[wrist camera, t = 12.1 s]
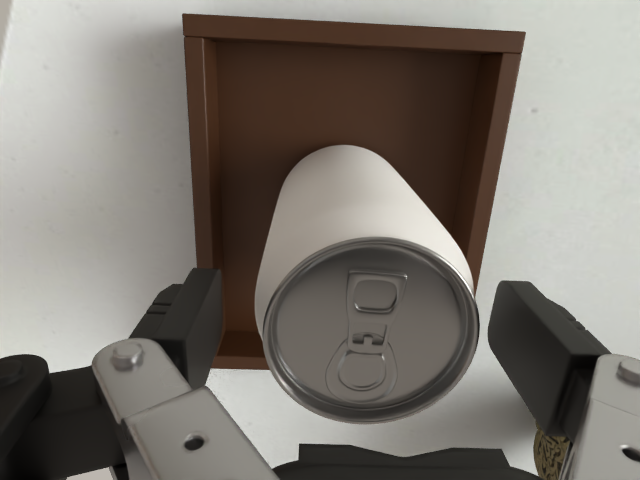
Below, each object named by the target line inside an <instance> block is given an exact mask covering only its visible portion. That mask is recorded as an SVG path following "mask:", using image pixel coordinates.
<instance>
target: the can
mask: <svg viewBox="0 0 640 480" xmlns="http://www.w3.org/2000/svg"><path fill="white" fill-rule="evenodd" d="M255 317H256V323H257V327H258V331H259V334H260V336H261V339H262V341H263V349H264V354H265V357H266V361H267V363H268V366H269V368H270V371H271V372H272V374H273V376H274V378H275V379H276V381H277V382H278V384H279V385H280V386H281V388H282V389H283V390H284V391H285V392H286V393H287V394H288V395H289V396H290V397H291V398H292V399H293V400H295V401H296V402H297V403H299V404H300V405H301V406H303V407H304V408H306V409H308V410H310V411H312V412H314V413H316V414H318V415H320V416H323V417H325V418H328V419H332V420H335V421H340V422H345V423H352V424H379V423H386V422H392V421H396V420H400V419H403V418H406V417H409V416H412V415H414V414H416V413H419V412H421V411H423V410H425V409H427V408H428V407H430V406H432V405H433V404H435V403H436V402H438V401H439V400H440V399H442V398H443V397H444V396H445V395H446V394H448V393H449V392H450V391H451V390H452V389H453V388H454V387H455V386H456V384H457V383H458V382H459V381H460V380H461V378H462V377H463V375H464V374H465V373H466V371H467V369H468V367H469V366H470V364H471V362H472V359H473V357H474V354H475V351H476V348H477V344H478V339H479V329H480V323H479V313H478V308H477V304H476V301H475V298H474V286H473V280H472V275H471V272H470V269H469V266H468V264H467V261H466V259H465V257H464V255H463V253H462V251H461V250H460V248H459V246H458V245H457V243H456V242H455V241H454V239H453V238H452V237H451V235H450V234H449V233H448V231H447V230H446V229H445V228H444V226H443V225H442V224H441V223H440V222H439V220H438V219H437V218H436V217H435V216H434V214H433V213H432V212H431V211H430V210H429V208H428V207H427V206H426V205H425V204H424V203H423V201H422V200H421V199H420V198H419V197H418V196H417V194H416V193H415V192H414V191H413V190H412V189H411V187H410V186H409V185H408V184H407V183H406V182H405V180H404V179H403V178H402V177H401V176H400V175H399V174H398V172H397V171H396V170H395V169H394V168H393V167H392V166H391V165H390V164H389V163H388V162H387V161H386V160H385V159H383V158H382V157H381V156H379V155H377V154H376V153H374V152H372V151H370V150H367V149H365V148H362V147H358V146H352V145H335V146H329V147H325V148H322V149H319V150H317V151H315V152H313V153H311V154H309V155H308V156H306V157H305V158H303V159H302V160H301V161H300V162H299V163H298V164H297V165H296V166H295V167H294V168H293V169H292V170H291V172H290V173H289V174H288V176H287V178H286V179H285V181H284V183H283V186H282V188H281V191H280V194H279V198H278V201H277V204H276V208H275V212H274V215H273V219H272V223H271V227H270V230H269V234H268V238H267V242H266V246H265V250H264V253H263V257H262V261H261V265H260V270H259V274H258V279H257V284H256V290H255Z"/></svg>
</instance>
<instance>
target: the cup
mask: <svg viewBox="0 0 640 480" xmlns="http://www.w3.org/2000/svg"><path fill="white" fill-rule="evenodd" d="M535 421H536V420H535ZM536 427H537V429H538V430H537V433H536V435H535V440H534V446H533V451H534V461H535V465H536V469H537V472H538V475H539V477H541V478H543V479H545V480H559V476H560V473H561V469H562V465H563V461H564V458H565V454H566V451H567V448H568V445H569V442H570V439H569V438H568V437H559V436H545V434H544V433H543V431H542V429H541V428H540V426H539V425H538V423H537V421H536Z"/></svg>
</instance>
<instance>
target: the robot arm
mask: <svg viewBox="0 0 640 480" xmlns="http://www.w3.org/2000/svg"><path fill="white" fill-rule="evenodd" d="M222 328H223V302H222V276H221V270H220V269H210V268H193V269H192V270H191V272H190V274H189V275H188V277H187V279H186V280H185V282H184V284H172V285H171V286H169V287H167V288H166V289H164V290H163V291H161V292H160V293H159V294H158V295H157V297H156V298H155V300H154V301H153V303H152V305H151V306H150V307H149V309H148V310H147V312H146V314H145V315H144V316H143V317H142V319H141V320H140V322H139V323H138V325H137V326H136V328H135V329H134V331H133V332H132V334H131V335H130V337H129V338H128V339H125V340H121V341H118V342H115V343H112V344H110V345H108V346H106V347H105V348H103V349H102V350H100V351H99V352H98V353H97V354H96V355H95V357H94V358H93V361H92V365H91V366H88V367H84V368H79V369H73V370H67V371H61V372H55V373H49V369H48V365H47V362H46V361H45V359H43V358H42V357H39V356H37V355H29V354H22V355H13V356H8V357H4V358H1V359H0V480H66V479H67V477H70V476H73V475H78V474H82V473H86V472H90V471H94V470H98V469H103V468H107V467H109V469H110V472H111V475H112V477H113V480H545V479H543V478H541V477H539V476H536V475H534V474H532V473H529V472H527V471H524V470H521V469H518V468H514V467H510V465H509V463H508V461H507V459H506V457H505V455H504V453H503V451H502V449H483V448H448V449H444V450H439V451H434V452H429V453H424V454H420V455H415V456H410V457H398V456H394V455H390V454H385V453H381V452H377V451H373V450H369V449H364V448H360V447H356V446H352V445H331V444H299V460H298V461H293V462H289V463H286V464H283V465H280V466H277V467H275V468H272V469H271V467H270V466H269V465H268V463H267V462H266V461H265V460H264V458H263V457H262V456H261V454H260V453H259V452H258V451H257V449H256V448H255V447H254V445H253V444H252V443H251V442H250V440H249V439H248V438H247V436H246V435H245V434H244V433H243V431H242V430H241V429H240V427H239V426H238V425H237V424H236V422H235V421H234V420H233V418H232V417H231V416H230V414H229V413H228V412H227V411H226V409H225V408H224V407H223V405H222V404H221V403H220V402H219V400H218V399H217V398H216V396H215V395H214V394H213V393H212V391H211V390H210V389H209V388H208V387H207V386H205V384H206V381H207V378H208V375H209V372H210V369H211V366H212V363H213V360H214V357H215V354H216V351H217V348H218V345H219V342H220V339H221V335H222ZM488 342H489V345H490V348H491V350H492V352H493V353H494V355H495V356H496V358H497V360H498V361H499V363H500V364H501V366H502V367H503V369H504V371H505V372H506V374H507V375H508V377H509V379H510V380H511V382H512V383H513V385H514V387H515V388H516V390H517V391H518V393H519V394H520V396H521V398H522V399H523V401H524V402H525V404H526V406H527V407H528V409H529V410H530V412H531V414H532V415H533V417H534V418H535V420H536V421H537V423H538V425H539V426H540V428H541V429H542V431H543V433H544V434H545V436H559V437H568V438H569V439H570V442H569V445H568V448H567V451H566V454H565V458H564V461H563V465H562V469H561V473H560V476H559V480H640V360H638V359H635V358H632V357H629V356H624V355H618V354H612V353H611V352H610V351H609V350H608V349H607V348H606V347H605V346H603V345H602V344H601V343H600V342H599V341H598V340H597V339H596V338H595V337H594V336H593V335H592V334H591V333H590V332H589V331H588V330H585V327H584V326H583V325H582V324H581V323H580V322H579V321H576V319H575V318H574V317H573V316H572V315H571V314H570V313H569V312H568V311H567V310H566V309H565V308H563V307H562V306H560V305H558V304H556V303H555V302H553V301H551V300H549V299H547V298H546V297H545V296H544V295H543V294H542V293H541V292H540V291H539V290H538V289H537V288H536V287H535V286H534V285H533V284H532V283H531V282H528V281H501V282H500V283H499V284H498V287H497V290H496V294H495V299H494V303H493V308H492V312H491V317H490V321H489V326H488Z"/></svg>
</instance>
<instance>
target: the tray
mask: <svg viewBox="0 0 640 480" xmlns="http://www.w3.org/2000/svg"><path fill="white" fill-rule="evenodd" d="M182 20H183V35H184V36H186V37H184V50H185V67H186V85H187V102H188V119H189V137H190V154H191V172H192V189H193V206H194V224H195V241H196V258H197V268H210V269H220V270H221V276H222V302H223V328H222V335H221V339H220V342H219V345H218V348H217V351H216V354H215V357H214V360H213V363H212V366H211V368H216V369H253V370H270V368H269V366H268V363H267V361H266V357H265V354H264V349H263V341H262V339H261V336H260V334H259V331H258V327H257V323H256V317H255V290H256V284H257V279H258V274H259V270H260V265H261V261H262V257H263V253H264V250H265V246H266V242H267V238H268V234H269V230H270V227H271V223H272V219H273V215H274V212H275V208H276V204H277V201H278V198H279V194H280V191H281V188H282V186H283V183H284V181H285V179H286V178H287V176H288V174H289V173H290V172H291V170H292V169H293V168H294V167H295V166H296V165H297V164H298V163H299V162H300V161H301V160H302V159H303V158H305V157H306V156H308V155H309V154H311V153H313V152H315V151H317V150H319V149H322V148H325V147H329V146H335V145H352V146H358V147H362V148H365V149H367V150H370V151H372V152H374V153H376V154H377V155H379V156H381V157H382V158H383V159H385V160H386V161H387V162H388V163H389V164H390V165H391V166H392V167H393V168H394V169H395V170H396V171H397V172H398V174H399V175H400V176H401V177H402V178H403V179H404V180H405V182H406V183H407V184H408V185H409V186H410V187H411V189H412V190H413V191H414V192H415V193H416V194H417V196H418V197H419V198H420V199H421V200H422V201H423V203H424V204H425V205H426V206H427V207H428V208H429V210H430V211H431V212H432V213H433V214H434V216H435V217H436V218H437V219H438V220H439V222H440V223H441V224H442V225H443V226H444V228H445V229H446V230H447V231H448V233H449V234H450V235H451V237H452V238H453V239H454V241H455V242H456V243H457V245H458V246H459V248H460V250H461V251H462V253H463V255H464V257H465V259H466V261H467V264H468V266H469V269H470V272H471V275H472V280H473V286H474V298H475V294H476V289H477V284H478V279H479V274H480V268H481V263H482V258H483V253H484V248H485V242H486V237H487V232H488V227H489V222H490V216H491V211H492V206H493V201H494V196H495V190H496V185H497V180H498V175H499V170H500V164H501V159H502V154H503V149H504V144H505V139H506V133H507V128H508V123H509V118H510V113H511V107H512V102H513V97H514V92H515V87H516V81H517V76H518V71H519V66H520V61H521V54H520V53H522V50H523V45H524V40H525V35H526V32H519V31H501V30H482V29H463V28H445V27H426V26H407V25H389V24H370V23H351V22H332V21H314V20H295V19H276V18H258V17H239V16H220V15H202V14H182Z"/></svg>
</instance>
